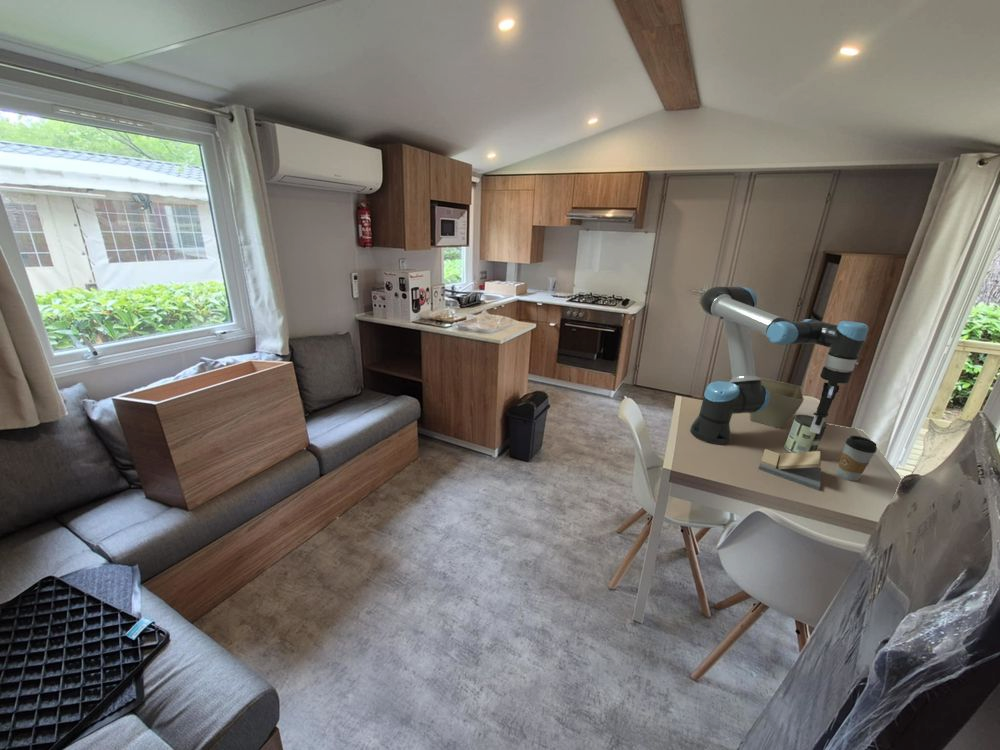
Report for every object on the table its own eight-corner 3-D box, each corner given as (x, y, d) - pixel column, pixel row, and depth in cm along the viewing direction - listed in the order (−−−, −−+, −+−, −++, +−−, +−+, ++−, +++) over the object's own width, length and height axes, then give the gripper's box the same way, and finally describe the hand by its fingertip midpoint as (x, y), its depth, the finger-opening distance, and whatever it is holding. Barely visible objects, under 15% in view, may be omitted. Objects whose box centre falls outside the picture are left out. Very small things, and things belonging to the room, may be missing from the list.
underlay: (758, 469, 144) (760, 462, 143) (763, 452, 155) (765, 446, 154) (818, 490, 134) (821, 483, 133) (819, 471, 145) (822, 465, 144)
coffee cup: (826, 469, 147) (841, 434, 141) (846, 469, 147) (862, 434, 142) (846, 483, 139) (863, 447, 133) (867, 483, 140) (885, 447, 134)
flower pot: (791, 434, 171) (804, 399, 165) (741, 421, 180) (752, 388, 174) (789, 418, 186) (801, 386, 180) (743, 407, 195) (753, 376, 189)
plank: (779, 469, 142) (778, 466, 142) (781, 456, 150) (780, 453, 150) (820, 466, 134) (819, 463, 134) (821, 453, 142) (820, 450, 142)
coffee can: (806, 446, 162) (818, 416, 157) (819, 459, 153) (833, 428, 147) (779, 442, 164) (790, 412, 159) (791, 455, 154) (803, 424, 149)
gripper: (853, 376, 121) (827, 442, 129) (852, 367, 131) (828, 429, 139) (823, 370, 126) (799, 434, 134) (824, 361, 135) (802, 422, 143)
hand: (814, 431), depth 136 cm, fingers closed
